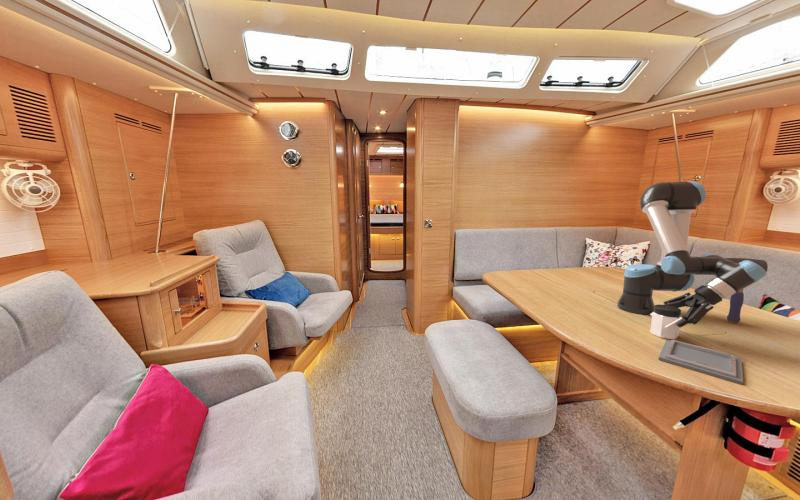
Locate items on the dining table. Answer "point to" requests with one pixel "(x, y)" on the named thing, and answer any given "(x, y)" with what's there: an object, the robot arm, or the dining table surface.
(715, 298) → the robot arm
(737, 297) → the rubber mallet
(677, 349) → the board
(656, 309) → the jar
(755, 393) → the dining table surface
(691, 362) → the tray
